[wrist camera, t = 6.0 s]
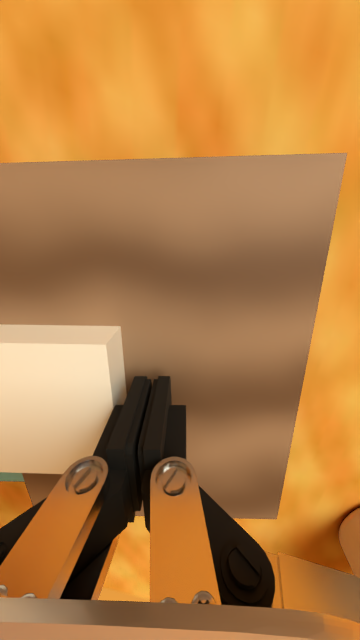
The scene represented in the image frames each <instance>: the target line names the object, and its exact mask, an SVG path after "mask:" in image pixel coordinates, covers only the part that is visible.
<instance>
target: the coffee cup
mask: <svg viewBox="0 0 360 640" xmlns="http://www.w3.org/2000/svg"><path fill="white" fill-rule="evenodd" d="M339 541H340V545H341V547H342V549H343V551H344V554H345V556H346V558H347V560H348V563H349V565H350V567H351V569H352V571H353V574H354V575H355V576H357V577H359V578H360V508H358V509H356V510H355V511H353V512H352V513H350V514H349V515H348V516H347V517H346V518H345V519H344V521H343V522H342V524H341V525H340V529H339Z"/></svg>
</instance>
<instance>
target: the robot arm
mask: <svg viewBox="0 0 360 640" xmlns="http://www.w3.org/2000/svg"><path fill="white" fill-rule="evenodd" d="M142 501H143V508H144V516H145V525H146V528H147V530H148V531H149V533H150V602H132V601H130V602H129V601H101V600H98V598H99V595H100V592H101V590H102V587H103V584H104V581H105V578H106V575H107V572H108V569H109V567H110V564H111V561H112V558H113V555H114V552H115V549H116V547H117V544H118V539H119V534H120V533H121V532H122V531H123V530H124V529H125V528H126V527H127V524H128V522H134V517H135V512H136V511H140V510H141V507H142ZM0 640H360V578H359V577H357V576H355V575H351V574H348V573H345V572H342V571H339V570H335V569H332V568H329V567H326V566H323V565H319V564H316V563H313V562H310V561H307V560H303V559H300V558H297V557H294V556H291V555H287V554H284V553H281V552H278V555H275V554H271V553H268V552H265V551H264V550H263V549H262V548H261V547H260V545H259V544H258V543H257V542H256V541H255V540H254V539H253V538H252V537H251V536H250V535H249V534H248V533H247V532H246V531H245V530H244V529H243V528H242V527H241V526H240V525H239V524H238V523H237V522H236V521H235V520H234V519H233V518H231V517H230V516H229V515H228V514H227V513H226V512H225V511H224V510H223V509H222V508H221V507H220V506H219V505H218V504H217V503H216V502H215V501H214V500H213V499H212V498H211V497H210V496H209V495H208V494H207V493H206V492H205V491H204V490H203V489H202V488H201V487H200V486H199V485H198V481H197V476H196V472H195V470H194V467H193V466H192V465H191V463H190V462H188V461H187V460H186V405H172V400H171V378H170V376H158V379H154V381H153V385H152V382H151V379H147V376H135V377H134V379H133V381H132V384H131V387H130V389H129V392H128V394H127V397H126V399H125V402H124V404H123V405H115V406H114V408H113V410H112V413H111V415H110V417H109V419H108V422H107V424H106V426H105V428H104V431H103V433H102V435H101V437H100V440H99V442H98V444H97V446H96V449H95V451H94V453H93V455H92V456H88V457H84V458H82V459H80V460H78V461H76V462H75V463H73V464H72V465H71V466H70V467H69V468H68V469H67V470H66V471H65V472H64V474H63V475H62V477H61V478H60V480H59V481H58V482H57V484H56V485H55V487H54V488H53V490H52V491H51V493H50V494H49V496H48V497H46V498H45V499H43V500H42V501H41V502H39V503H38V504H36V505H35V506H33V507H32V508H30V509H29V510H27V511H26V512H24V513H23V514H21V515H20V516H18V517H17V518H15V519H14V520H12V521H11V522H9V523H8V524H6V525H5V526H3V527H2V528H1V529H0Z"/></svg>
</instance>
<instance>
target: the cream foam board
mask: <svg viewBox="0 0 360 640" xmlns="http://www.w3.org/2000/svg"><path fill="white" fill-rule="evenodd" d="M126 397H127V394H126V382H125V371H124V360H123V349H122V337H121V326H72V325H2V324H0V472H9V473H41V474H64V472H65V471H66V470H67V469H68V468H69V467H70V466H71V465H72V464H73V463H75V462H76V461H78V460H80V459H82V458H84V457H88V456H92V455H93V453H94V451H95V449H96V446H97V444H98V442H99V440H100V437H101V435H102V433H103V431H104V428H105V426H106V424H107V422H108V419H109V417H110V415H111V413H112V410H113V408H114V406H115V405H123V404H124V402H125V399H126Z"/></svg>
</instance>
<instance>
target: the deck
mask: <svg viewBox="0 0 360 640" xmlns="http://www.w3.org/2000/svg"><path fill="white" fill-rule="evenodd" d="M346 156H347V153H328V154H294V155H261V156H227V157H193V158H159V159H125V160H91V161H57V162H23V163H0V324H2V325H72V326H121V337H122V349H123V360H124V371H125V382H126V394H128V392H129V389H130V387H131V384H132V381H133V379H134V377H135V376H147V379H151V382H152V385H153V381H154V379H158V376H170V378H171V400H172V405H186V460H187V461H188V462H190V463H191V465H192V466H193V467H194V470H195V472H196V476H197V481H198V485H199V486H200V487H201V488H202V489H203V490H204V491H205V492H206V493H207V494H208V495H209V496H210V497H211V498H212V499H213V500H214V501H215V502H216V503H217V504H218V505H219V506H220V507H221V508H222V509H223V510H224V511H225V512H226V513H227V514H228V515H229V516H230V517H231V518H246V519H277V515H278V510H279V505H280V499H281V494H282V489H283V484H284V479H285V473H286V468H287V463H288V458H289V453H290V447H291V442H292V437H293V432H294V427H295V421H296V416H297V411H298V406H299V401H300V395H301V390H302V385H303V380H304V375H305V369H306V364H307V359H308V354H309V349H310V343H311V338H312V333H313V328H314V323H315V317H316V312H317V307H318V302H319V297H320V292H321V286H322V281H323V276H324V271H325V266H326V260H327V255H328V250H329V245H330V240H331V234H332V229H333V224H334V219H335V214H336V208H337V203H338V198H339V193H340V188H341V182H342V177H343V172H344V167H345V162H346ZM22 475H23V478H24V481H25V484H26V487H27V490H28V493H29V496H30V499H31V502H32V504H33V506H35V505H36V504H38V503H39V502H41V501H42V500H43V499H45V498H46V497H48V496H49V494H50V493H51V491H52V490H53V488H54V487H55V485H56V484H57V482H58V481H59V480H60V478H61V477H62V475H63V474H41V473H22ZM135 516H144V508H143V501H142V507H141V510H140V511H136V512H135Z"/></svg>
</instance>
